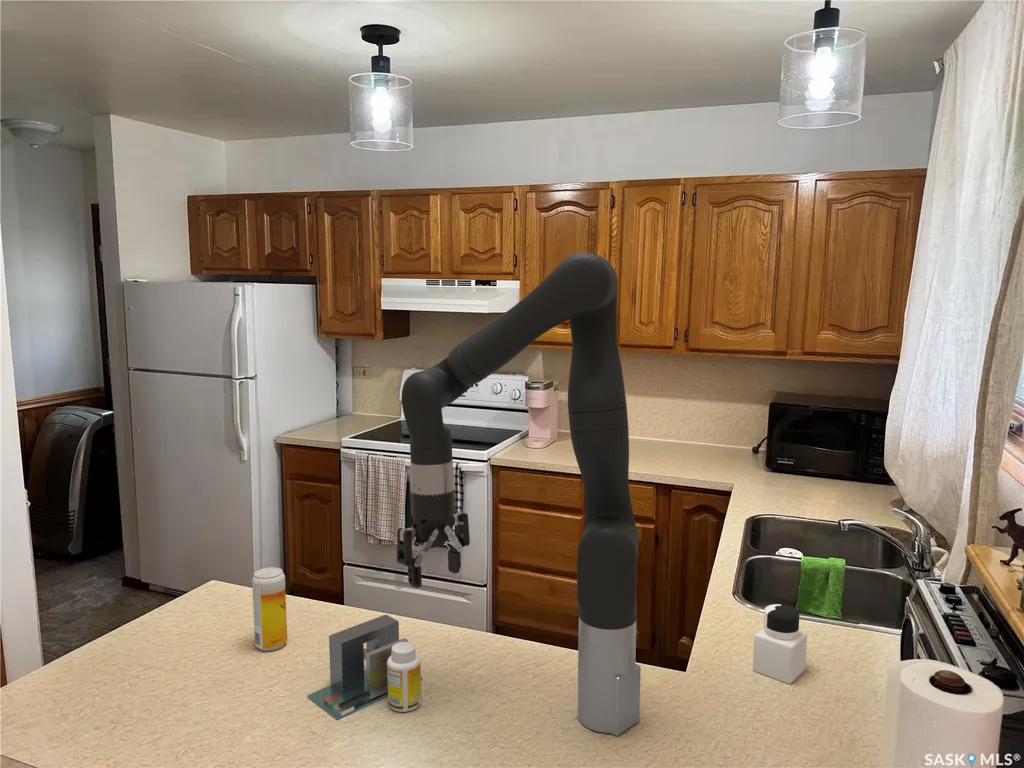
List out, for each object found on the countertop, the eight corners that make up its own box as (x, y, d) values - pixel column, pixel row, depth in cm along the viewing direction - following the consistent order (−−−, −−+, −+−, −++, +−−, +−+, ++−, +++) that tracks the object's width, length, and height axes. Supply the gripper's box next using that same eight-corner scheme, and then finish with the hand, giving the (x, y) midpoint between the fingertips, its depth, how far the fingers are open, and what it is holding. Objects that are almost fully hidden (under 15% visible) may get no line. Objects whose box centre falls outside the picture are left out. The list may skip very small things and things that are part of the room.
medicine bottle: (805, 670, 133) (809, 608, 132) (790, 685, 128) (793, 620, 126) (768, 657, 138) (771, 597, 136) (751, 671, 133) (754, 608, 131)
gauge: (422, 679, 130) (421, 629, 128) (337, 720, 117) (335, 664, 116) (391, 661, 136) (390, 612, 135) (307, 697, 124) (305, 644, 123)
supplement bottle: (421, 694, 125) (420, 638, 124) (420, 712, 119) (419, 654, 118) (389, 696, 124) (387, 639, 123) (386, 714, 119) (385, 655, 118)
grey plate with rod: (408, 681, 127) (407, 639, 127) (341, 712, 118) (340, 667, 117) (382, 665, 133) (381, 625, 132) (316, 693, 123) (314, 650, 123)
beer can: (294, 642, 143) (291, 570, 142) (269, 655, 138) (265, 580, 136) (273, 635, 147) (270, 564, 145) (248, 647, 142) (245, 574, 140)
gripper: (413, 499, 114) (416, 598, 116) (478, 482, 124) (480, 572, 126) (384, 491, 119) (388, 586, 121) (449, 475, 130) (452, 562, 131)
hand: (435, 579), depth 124 cm, fingers open, 8 cm apart
